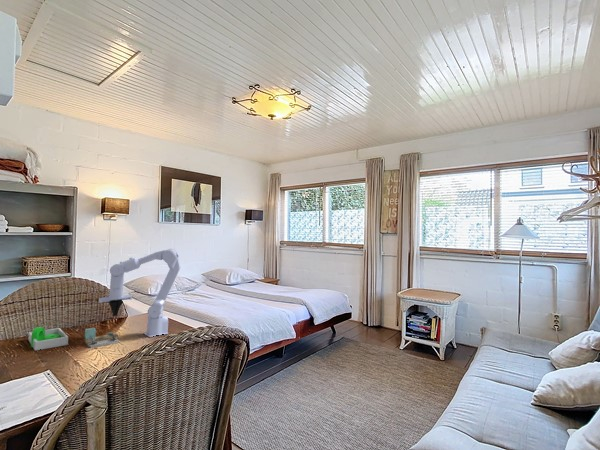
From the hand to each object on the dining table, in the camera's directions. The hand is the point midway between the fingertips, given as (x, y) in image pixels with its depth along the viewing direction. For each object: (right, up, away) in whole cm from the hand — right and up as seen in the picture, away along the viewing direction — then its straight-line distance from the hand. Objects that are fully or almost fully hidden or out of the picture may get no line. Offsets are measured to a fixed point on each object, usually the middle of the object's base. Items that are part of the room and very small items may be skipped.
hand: (114, 315), depth 161 cm
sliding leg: (-3, -8, -13) cm, 16 cm away
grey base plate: (0, -10, -10) cm, 14 cm away
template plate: (+2, -10, -12) cm, 16 cm away
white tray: (-23, -8, -14) cm, 28 cm away
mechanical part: (-23, -9, -14) cm, 28 cm away
